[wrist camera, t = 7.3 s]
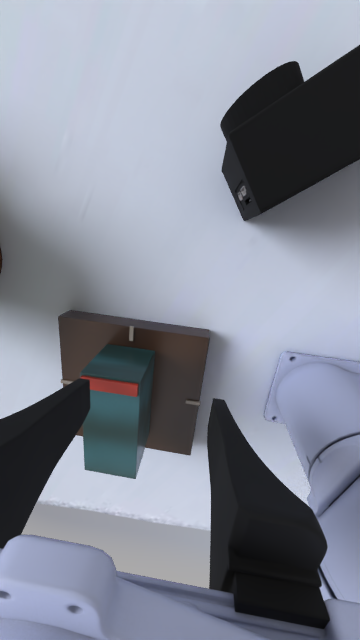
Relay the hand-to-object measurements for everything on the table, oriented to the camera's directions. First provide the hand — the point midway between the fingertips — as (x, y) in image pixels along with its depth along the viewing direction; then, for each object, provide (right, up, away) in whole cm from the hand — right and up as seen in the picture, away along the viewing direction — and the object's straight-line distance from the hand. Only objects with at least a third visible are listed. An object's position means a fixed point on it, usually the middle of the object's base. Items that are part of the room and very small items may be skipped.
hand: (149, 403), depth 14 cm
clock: (-3, -2, +12) cm, 13 cm away
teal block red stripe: (-3, -2, +10) cm, 11 cm away
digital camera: (+10, +17, +4) cm, 21 cm away
